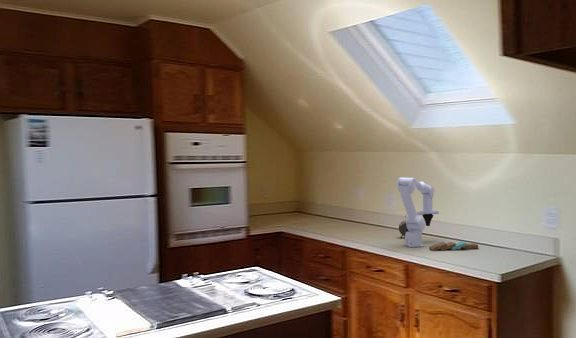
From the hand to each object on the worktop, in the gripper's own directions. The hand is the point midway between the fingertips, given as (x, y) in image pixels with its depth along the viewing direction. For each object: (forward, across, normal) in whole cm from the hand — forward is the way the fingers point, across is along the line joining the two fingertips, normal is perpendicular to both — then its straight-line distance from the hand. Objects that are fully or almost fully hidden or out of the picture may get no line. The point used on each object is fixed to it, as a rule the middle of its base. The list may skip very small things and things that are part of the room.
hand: (427, 225), depth 317 cm
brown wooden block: (+9, -11, -22) cm, 26 cm away
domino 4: (+10, +9, -24) cm, 27 cm away
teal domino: (+9, +1, -24) cm, 26 cm away
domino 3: (+9, +8, -24) cm, 27 cm away
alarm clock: (+11, -6, +16) cm, 20 cm away
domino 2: (+9, -6, -23) cm, 25 cm away
